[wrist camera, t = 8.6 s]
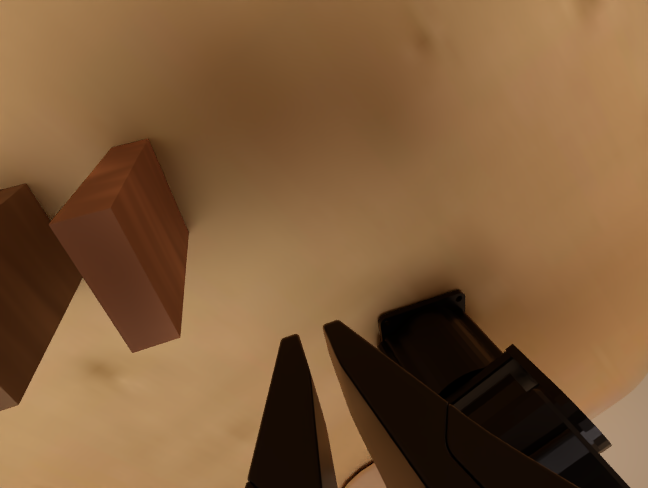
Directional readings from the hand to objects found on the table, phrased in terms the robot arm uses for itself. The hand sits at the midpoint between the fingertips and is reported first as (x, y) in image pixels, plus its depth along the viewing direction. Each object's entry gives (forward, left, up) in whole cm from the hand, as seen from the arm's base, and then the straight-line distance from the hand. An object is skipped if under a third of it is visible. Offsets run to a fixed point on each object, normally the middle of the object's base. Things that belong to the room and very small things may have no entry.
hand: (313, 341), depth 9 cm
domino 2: (+5, -1, -12) cm, 13 cm away
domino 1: (+10, 0, -12) cm, 16 cm away
